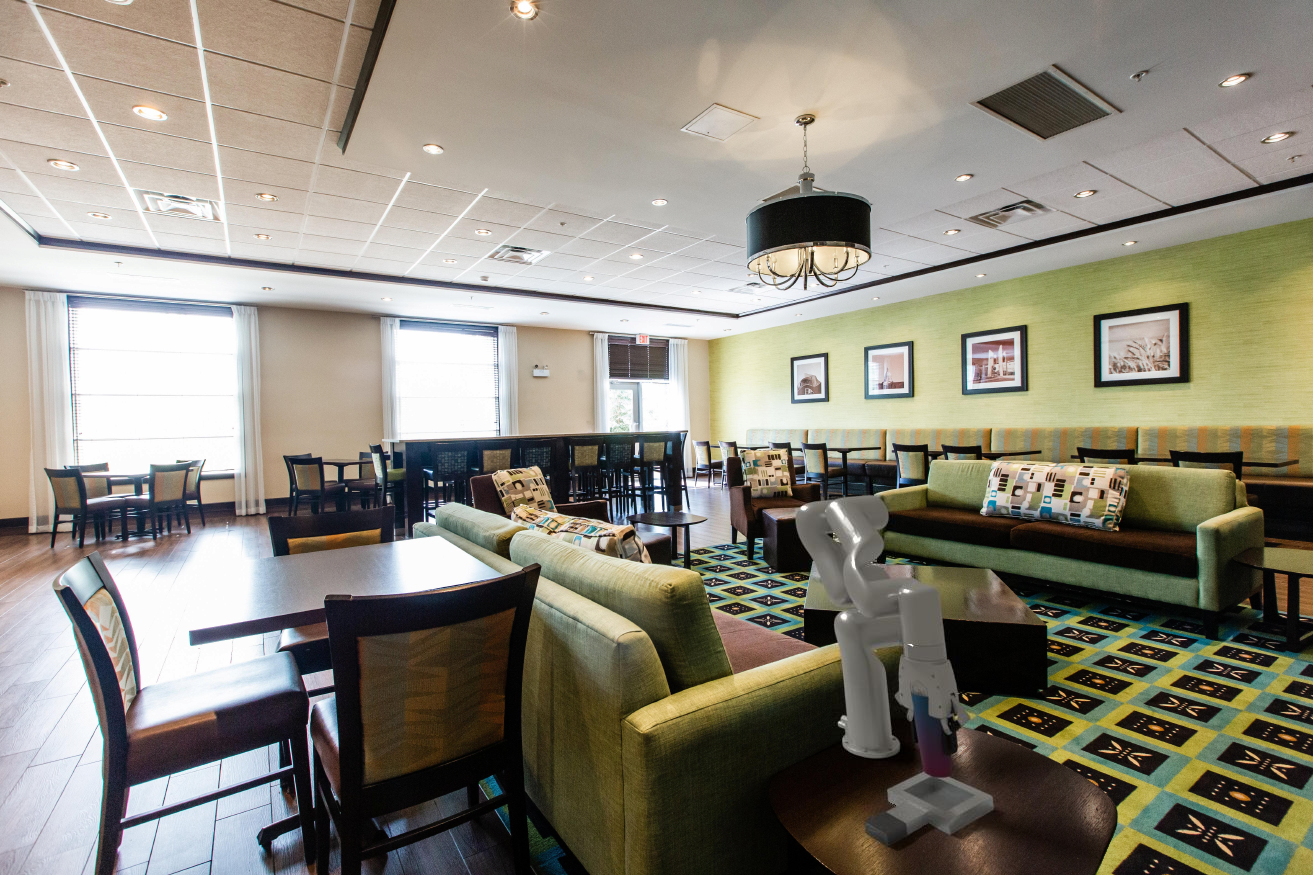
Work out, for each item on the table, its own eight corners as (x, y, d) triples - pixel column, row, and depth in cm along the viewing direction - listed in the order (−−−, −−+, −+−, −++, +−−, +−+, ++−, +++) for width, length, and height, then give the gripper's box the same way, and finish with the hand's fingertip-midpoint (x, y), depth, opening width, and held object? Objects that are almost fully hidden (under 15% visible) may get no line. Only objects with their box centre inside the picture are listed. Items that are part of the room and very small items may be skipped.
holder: (931, 780, 121) (930, 768, 121) (993, 809, 110) (992, 795, 110) (848, 822, 109) (847, 808, 110) (908, 859, 98) (907, 844, 98)
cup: (962, 780, 108) (952, 696, 110) (922, 779, 110) (913, 696, 111) (951, 762, 115) (942, 683, 116) (914, 762, 116) (906, 684, 118)
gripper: (874, 645, 120) (884, 737, 118) (953, 665, 105) (965, 770, 104) (899, 638, 124) (909, 727, 122) (979, 656, 109) (990, 757, 107)
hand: (934, 746), depth 113 cm, fingers closed on cup, 6 cm apart
